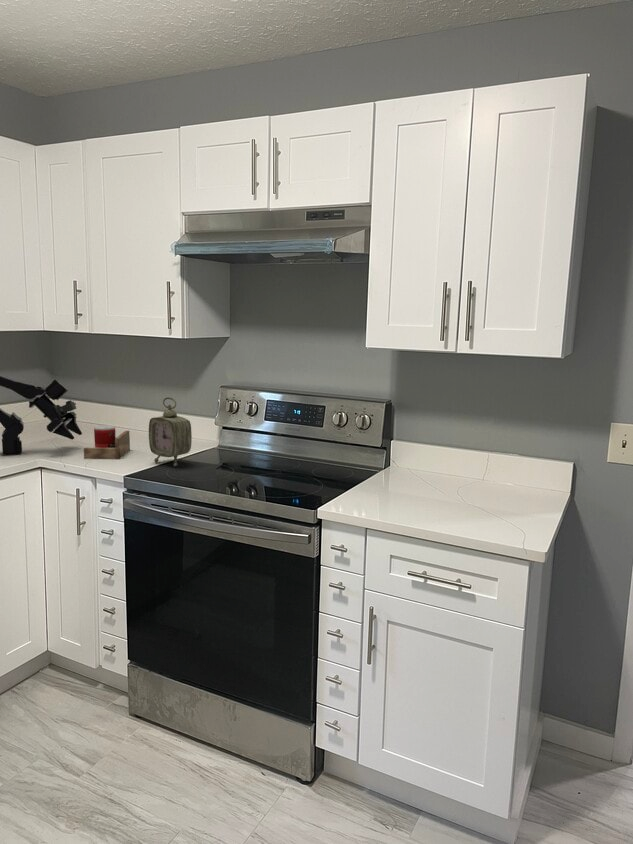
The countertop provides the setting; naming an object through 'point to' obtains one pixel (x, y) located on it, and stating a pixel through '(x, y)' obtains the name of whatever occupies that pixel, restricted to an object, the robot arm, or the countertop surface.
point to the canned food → (104, 436)
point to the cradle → (110, 449)
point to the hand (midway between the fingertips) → (77, 436)
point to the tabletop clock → (169, 434)
